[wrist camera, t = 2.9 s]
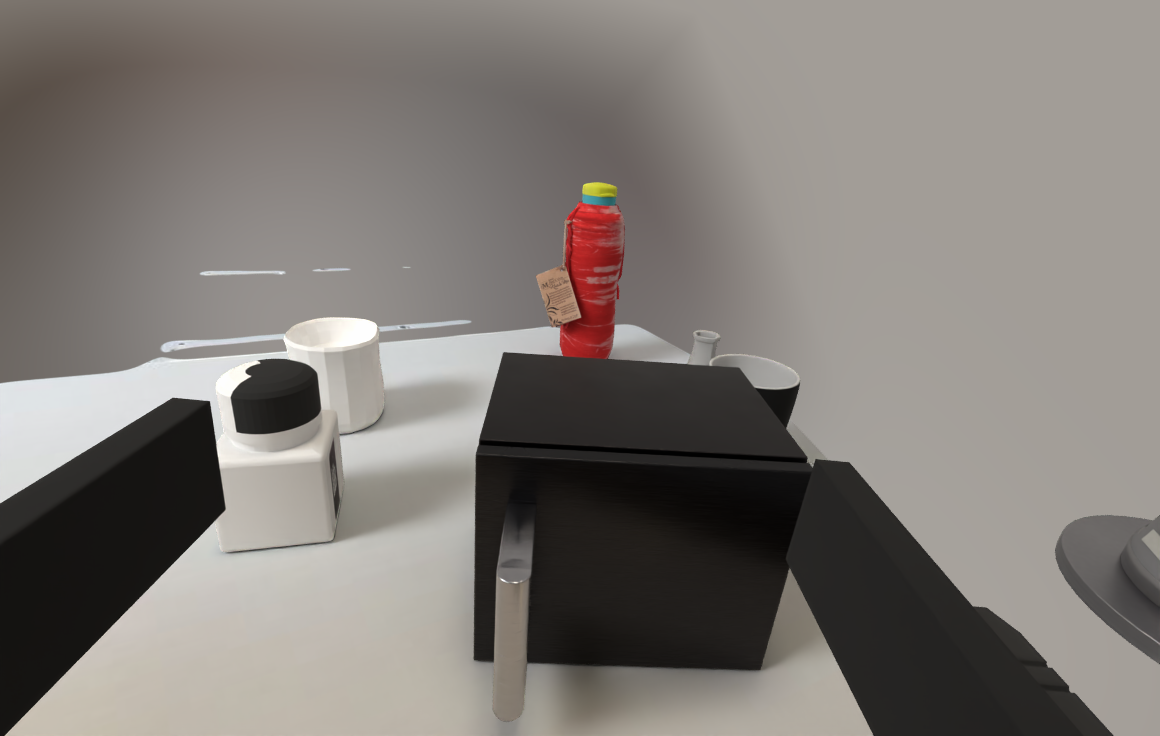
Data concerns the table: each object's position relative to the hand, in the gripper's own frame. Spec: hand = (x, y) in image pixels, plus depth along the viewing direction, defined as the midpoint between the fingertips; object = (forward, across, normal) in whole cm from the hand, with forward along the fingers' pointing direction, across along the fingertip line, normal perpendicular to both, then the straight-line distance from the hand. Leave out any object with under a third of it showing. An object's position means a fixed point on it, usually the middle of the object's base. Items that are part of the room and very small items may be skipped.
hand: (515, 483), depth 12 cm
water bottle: (+65, +3, -22) cm, 68 cm away
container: (+27, -20, -23) cm, 41 cm away
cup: (+45, -22, -23) cm, 55 cm away
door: (+13, +6, -22) cm, 27 cm away
